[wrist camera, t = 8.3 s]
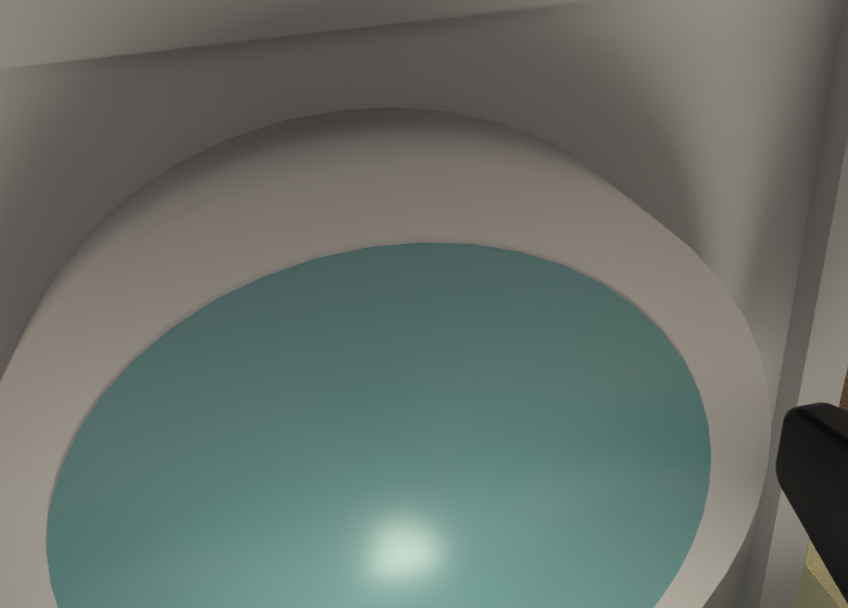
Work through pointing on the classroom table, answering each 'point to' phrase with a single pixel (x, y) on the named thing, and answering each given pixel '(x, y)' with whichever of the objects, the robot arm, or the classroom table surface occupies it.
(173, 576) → the disc
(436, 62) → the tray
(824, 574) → the classroom table surface
